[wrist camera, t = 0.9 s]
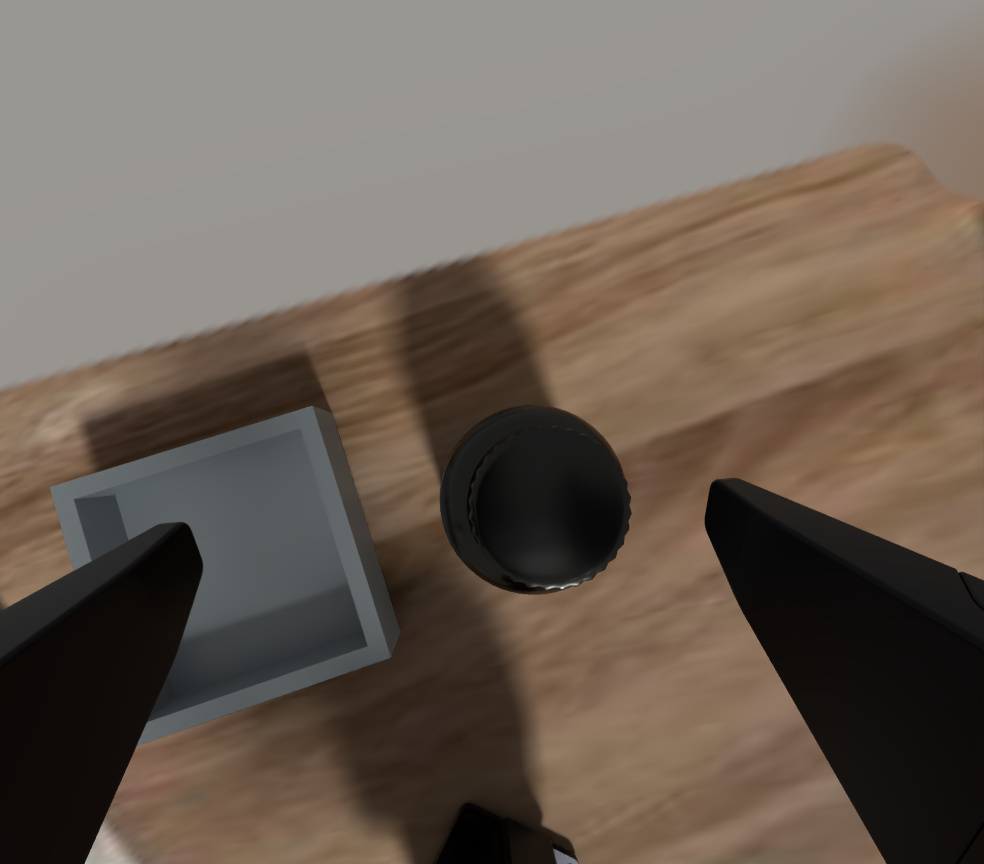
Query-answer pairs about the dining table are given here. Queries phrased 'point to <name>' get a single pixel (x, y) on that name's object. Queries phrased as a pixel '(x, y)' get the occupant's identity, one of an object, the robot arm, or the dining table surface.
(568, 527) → the supplement bottle
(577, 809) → the dining table surface
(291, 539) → the tray
